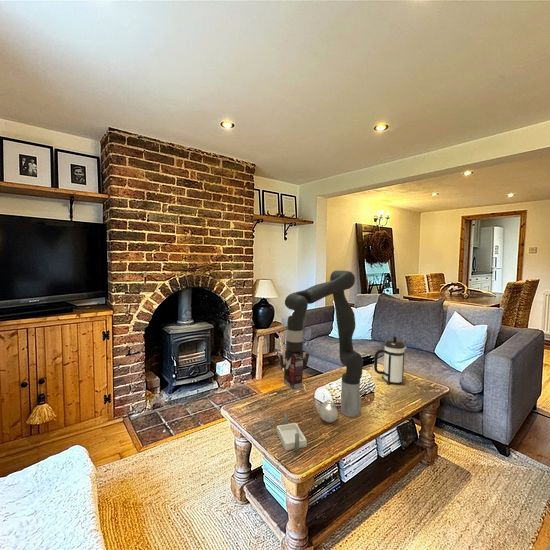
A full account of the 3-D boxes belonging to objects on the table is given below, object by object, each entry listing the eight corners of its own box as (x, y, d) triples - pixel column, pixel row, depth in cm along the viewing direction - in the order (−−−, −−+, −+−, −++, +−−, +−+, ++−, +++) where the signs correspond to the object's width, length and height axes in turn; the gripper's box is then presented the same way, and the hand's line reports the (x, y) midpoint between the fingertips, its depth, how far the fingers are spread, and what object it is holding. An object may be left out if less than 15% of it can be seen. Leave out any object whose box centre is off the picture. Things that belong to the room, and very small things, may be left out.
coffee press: (387, 374, 208) (388, 331, 205) (409, 382, 196) (412, 337, 193) (372, 381, 197) (374, 336, 194) (396, 390, 185) (398, 342, 182)
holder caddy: (294, 426, 146) (294, 412, 145) (308, 449, 129) (308, 433, 128) (275, 429, 143) (275, 415, 142) (286, 453, 126) (287, 437, 126)
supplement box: (283, 383, 139) (284, 349, 138) (291, 381, 141) (293, 348, 140) (293, 391, 132) (295, 355, 130) (302, 389, 134) (304, 354, 133)
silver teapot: (340, 418, 153) (340, 399, 152) (335, 428, 145) (335, 408, 144) (322, 413, 157) (323, 395, 156) (317, 423, 149) (317, 403, 148)
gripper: (306, 336, 140) (305, 371, 141) (276, 337, 136) (275, 373, 138) (312, 340, 133) (311, 378, 134) (281, 342, 129) (280, 380, 131)
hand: (293, 375), depth 136 cm, fingers closed on supplement box, 5 cm apart
